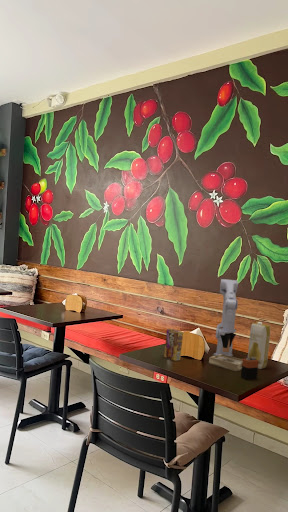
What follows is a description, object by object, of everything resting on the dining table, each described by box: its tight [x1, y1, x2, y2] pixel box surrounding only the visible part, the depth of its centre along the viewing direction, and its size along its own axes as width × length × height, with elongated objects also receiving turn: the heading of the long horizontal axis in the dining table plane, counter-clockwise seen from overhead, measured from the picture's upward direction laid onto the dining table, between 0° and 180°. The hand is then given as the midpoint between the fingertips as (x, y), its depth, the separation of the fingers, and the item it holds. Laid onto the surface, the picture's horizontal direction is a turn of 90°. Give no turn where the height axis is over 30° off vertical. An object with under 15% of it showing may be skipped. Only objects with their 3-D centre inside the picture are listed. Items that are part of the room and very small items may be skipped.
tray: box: [208, 354, 244, 372], centre depth 221 cm, size 13×16×4 cm
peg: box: [222, 339, 230, 352], centre depth 223 cm, size 4×4×8 cm
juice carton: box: [247, 321, 271, 370], centre depth 225 cm, size 9×8×24 cm
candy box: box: [164, 328, 184, 362], centre depth 225 cm, size 9×4×15 cm, turn 39°
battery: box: [240, 357, 259, 381], centre depth 202 cm, size 4×7×10 cm, turn 119°
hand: (226, 347), depth 223 cm, fingers closed on peg, 4 cm apart
